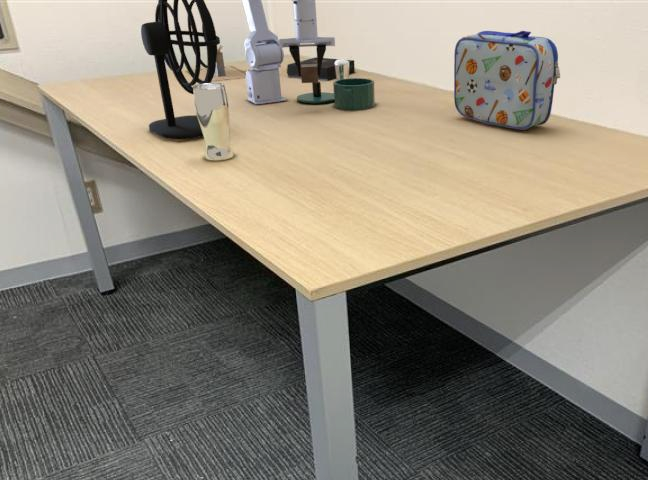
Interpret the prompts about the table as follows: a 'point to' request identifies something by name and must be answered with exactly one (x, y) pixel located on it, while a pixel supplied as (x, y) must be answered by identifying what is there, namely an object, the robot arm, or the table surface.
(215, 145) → the beer glass
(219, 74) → the architectural model on board
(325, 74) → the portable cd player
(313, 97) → the lid
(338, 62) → the milkshake
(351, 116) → the table surface
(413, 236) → the table surface
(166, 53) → the desk fan
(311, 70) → the block
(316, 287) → the table surface
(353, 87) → the tin
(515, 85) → the lunch box
